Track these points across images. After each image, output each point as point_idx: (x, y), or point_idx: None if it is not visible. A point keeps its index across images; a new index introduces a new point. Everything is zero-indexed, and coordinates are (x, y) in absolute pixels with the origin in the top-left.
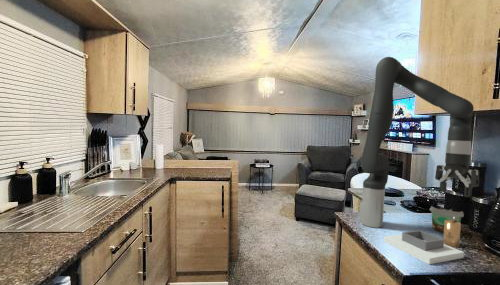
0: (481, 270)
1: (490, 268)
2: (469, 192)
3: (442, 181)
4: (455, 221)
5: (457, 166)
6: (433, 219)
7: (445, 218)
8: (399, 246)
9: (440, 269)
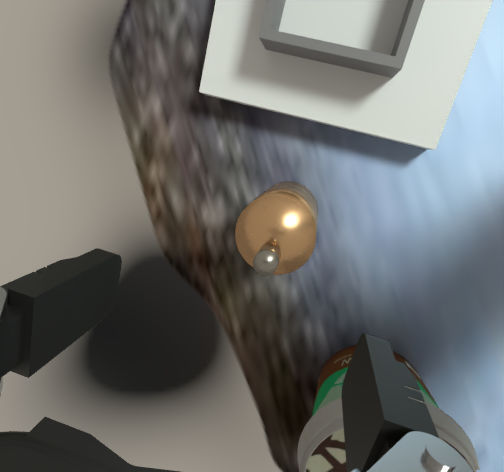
0: (131, 25)
1: (124, 83)
2: (38, 274)
3: (401, 440)
4: (262, 245)
5: None
6: (425, 391)
7: None
8: None
9: None
